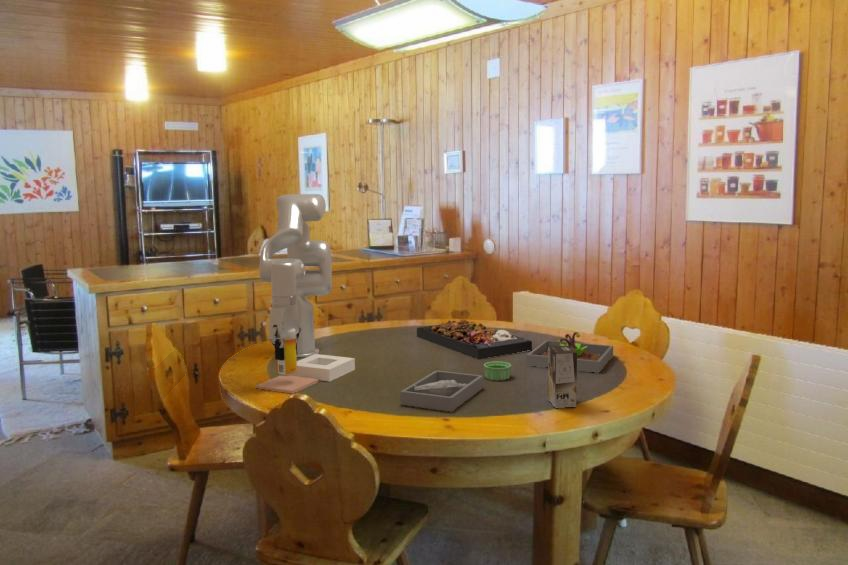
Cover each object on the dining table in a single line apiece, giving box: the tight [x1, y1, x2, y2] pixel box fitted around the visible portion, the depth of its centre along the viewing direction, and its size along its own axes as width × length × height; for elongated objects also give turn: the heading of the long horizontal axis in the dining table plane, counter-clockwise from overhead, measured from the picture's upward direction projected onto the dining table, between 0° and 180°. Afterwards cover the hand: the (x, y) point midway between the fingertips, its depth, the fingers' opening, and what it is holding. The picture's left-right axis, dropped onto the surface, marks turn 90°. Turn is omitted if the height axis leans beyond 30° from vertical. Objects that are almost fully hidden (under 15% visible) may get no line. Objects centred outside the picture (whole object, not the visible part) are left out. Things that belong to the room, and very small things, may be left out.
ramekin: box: [483, 360, 512, 382], centre depth 231 cm, size 9×9×4 cm
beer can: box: [276, 328, 298, 376], centre depth 223 cm, size 6×6×15 cm
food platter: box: [416, 318, 533, 360], centre depth 280 cm, size 45×25×10 cm, turn 30°
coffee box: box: [547, 346, 578, 409], centre depth 202 cm, size 9×6×16 cm
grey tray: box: [399, 370, 484, 413], centre depth 211 cm, size 16×25×4 cm, turn 155°
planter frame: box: [525, 339, 614, 374], centre depth 251 cm, size 25×25×4 cm
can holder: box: [292, 353, 356, 382], centre depth 238 cm, size 16×16×4 cm
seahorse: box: [412, 380, 467, 397], centre depth 211 cm, size 5×12×20 cm
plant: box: [541, 331, 601, 361], centre depth 250 cm, size 20×20×11 cm
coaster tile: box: [255, 375, 319, 395], centre depth 224 cm, size 14×14×1 cm
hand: (286, 356), depth 223 cm, fingers closed on beer can, 6 cm apart
